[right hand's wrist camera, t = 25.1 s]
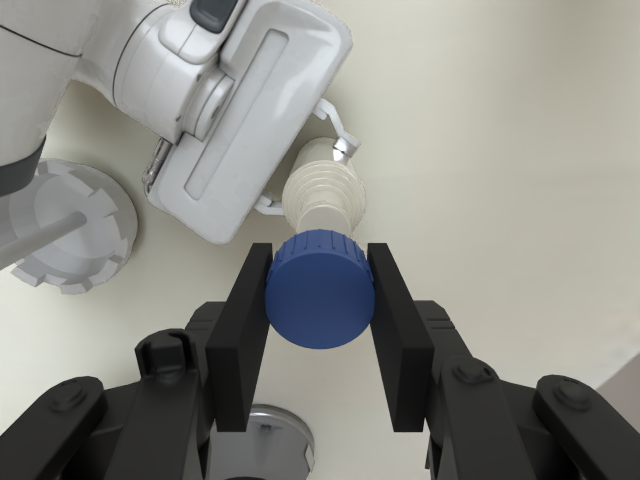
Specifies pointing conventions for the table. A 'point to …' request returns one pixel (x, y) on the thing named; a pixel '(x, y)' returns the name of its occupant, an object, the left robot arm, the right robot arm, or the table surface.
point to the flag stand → (67, 227)
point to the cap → (319, 290)
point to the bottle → (323, 190)
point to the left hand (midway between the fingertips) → (332, 183)
